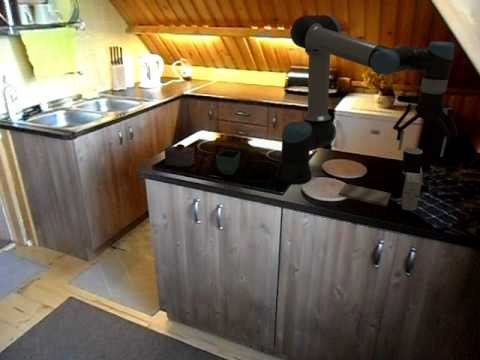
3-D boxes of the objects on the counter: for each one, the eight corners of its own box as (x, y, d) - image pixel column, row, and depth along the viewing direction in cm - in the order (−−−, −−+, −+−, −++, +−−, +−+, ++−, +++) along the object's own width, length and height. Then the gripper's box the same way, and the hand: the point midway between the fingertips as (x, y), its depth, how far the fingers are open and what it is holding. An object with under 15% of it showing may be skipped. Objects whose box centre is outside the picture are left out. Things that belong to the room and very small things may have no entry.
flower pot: (215, 175, 168) (215, 156, 164) (222, 168, 176) (221, 149, 172) (235, 177, 166) (235, 158, 162) (240, 170, 174) (240, 151, 170)
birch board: (338, 195, 151) (338, 192, 151) (345, 186, 159) (345, 183, 159) (386, 206, 143) (386, 203, 143) (390, 196, 151) (391, 193, 151)
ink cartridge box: (400, 199, 149) (407, 164, 143) (414, 201, 147) (422, 166, 141) (401, 209, 141) (408, 172, 135) (415, 211, 140) (424, 174, 134)
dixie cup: (395, 172, 173) (399, 149, 168) (404, 168, 177) (409, 146, 173) (411, 178, 167) (416, 154, 163) (421, 173, 172) (426, 150, 167)
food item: (196, 162, 182) (196, 142, 178) (192, 169, 174) (191, 148, 170) (168, 160, 183) (167, 141, 179) (163, 167, 176) (161, 146, 172)
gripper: (391, 89, 129) (381, 149, 138) (476, 97, 118) (459, 162, 127) (394, 86, 135) (385, 143, 144) (475, 93, 124) (460, 155, 133)
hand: (420, 152), depth 135 cm, fingers open, 13 cm apart
